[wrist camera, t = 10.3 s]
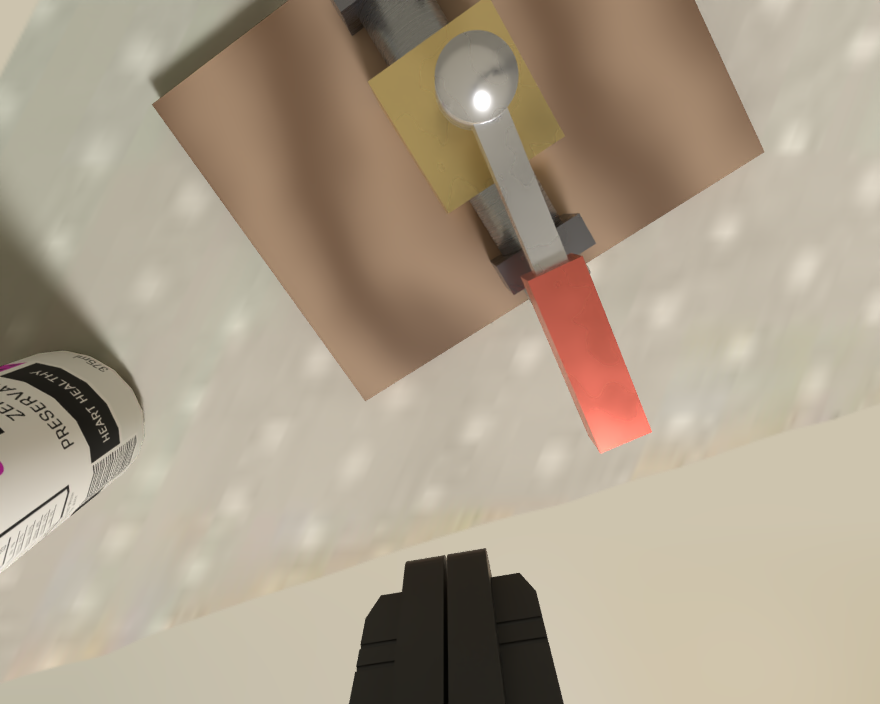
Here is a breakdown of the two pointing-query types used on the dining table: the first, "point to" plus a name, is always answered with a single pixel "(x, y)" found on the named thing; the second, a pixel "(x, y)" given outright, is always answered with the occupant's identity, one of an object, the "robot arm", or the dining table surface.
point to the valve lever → (540, 240)
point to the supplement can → (59, 442)
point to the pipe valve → (436, 139)
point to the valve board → (404, 187)
